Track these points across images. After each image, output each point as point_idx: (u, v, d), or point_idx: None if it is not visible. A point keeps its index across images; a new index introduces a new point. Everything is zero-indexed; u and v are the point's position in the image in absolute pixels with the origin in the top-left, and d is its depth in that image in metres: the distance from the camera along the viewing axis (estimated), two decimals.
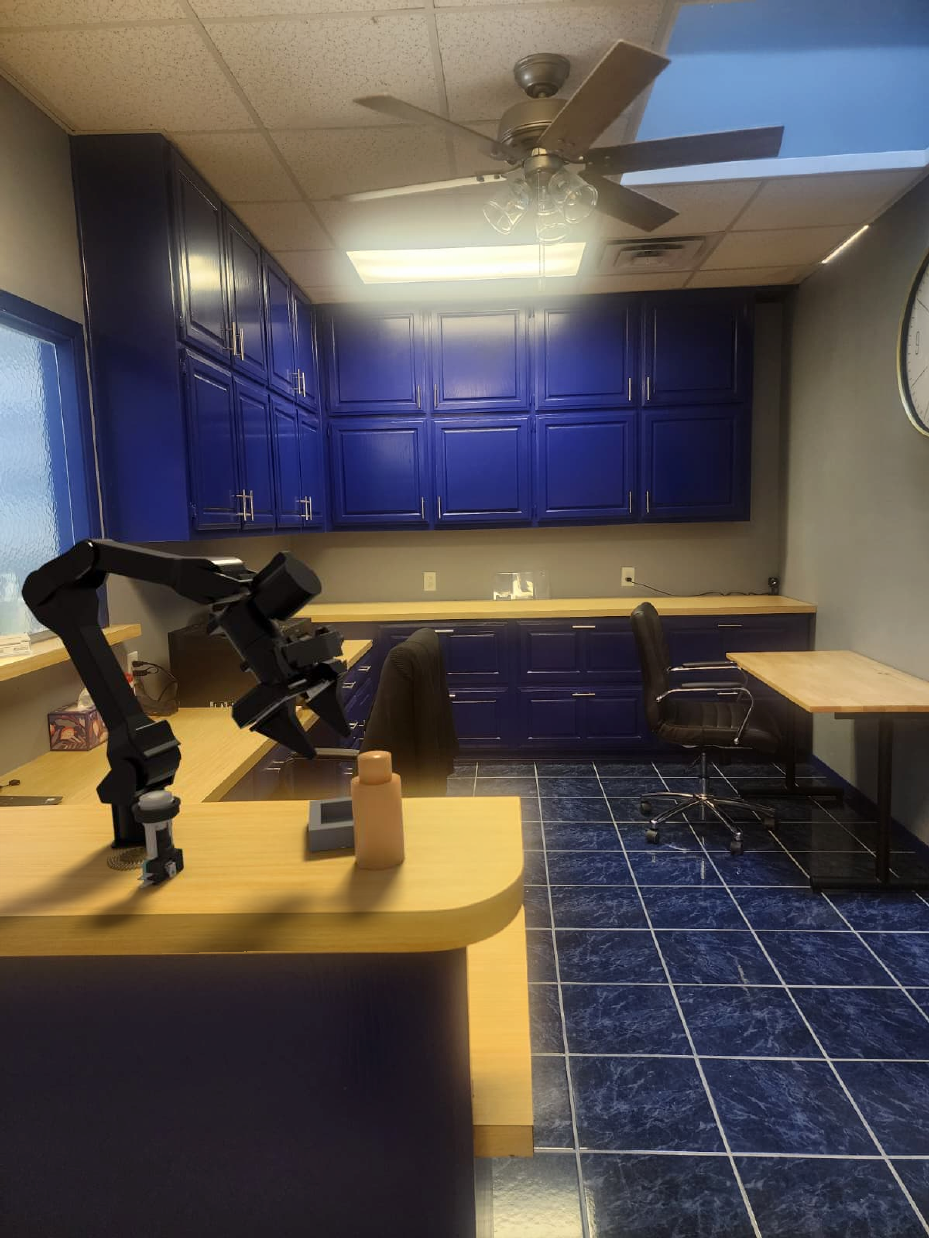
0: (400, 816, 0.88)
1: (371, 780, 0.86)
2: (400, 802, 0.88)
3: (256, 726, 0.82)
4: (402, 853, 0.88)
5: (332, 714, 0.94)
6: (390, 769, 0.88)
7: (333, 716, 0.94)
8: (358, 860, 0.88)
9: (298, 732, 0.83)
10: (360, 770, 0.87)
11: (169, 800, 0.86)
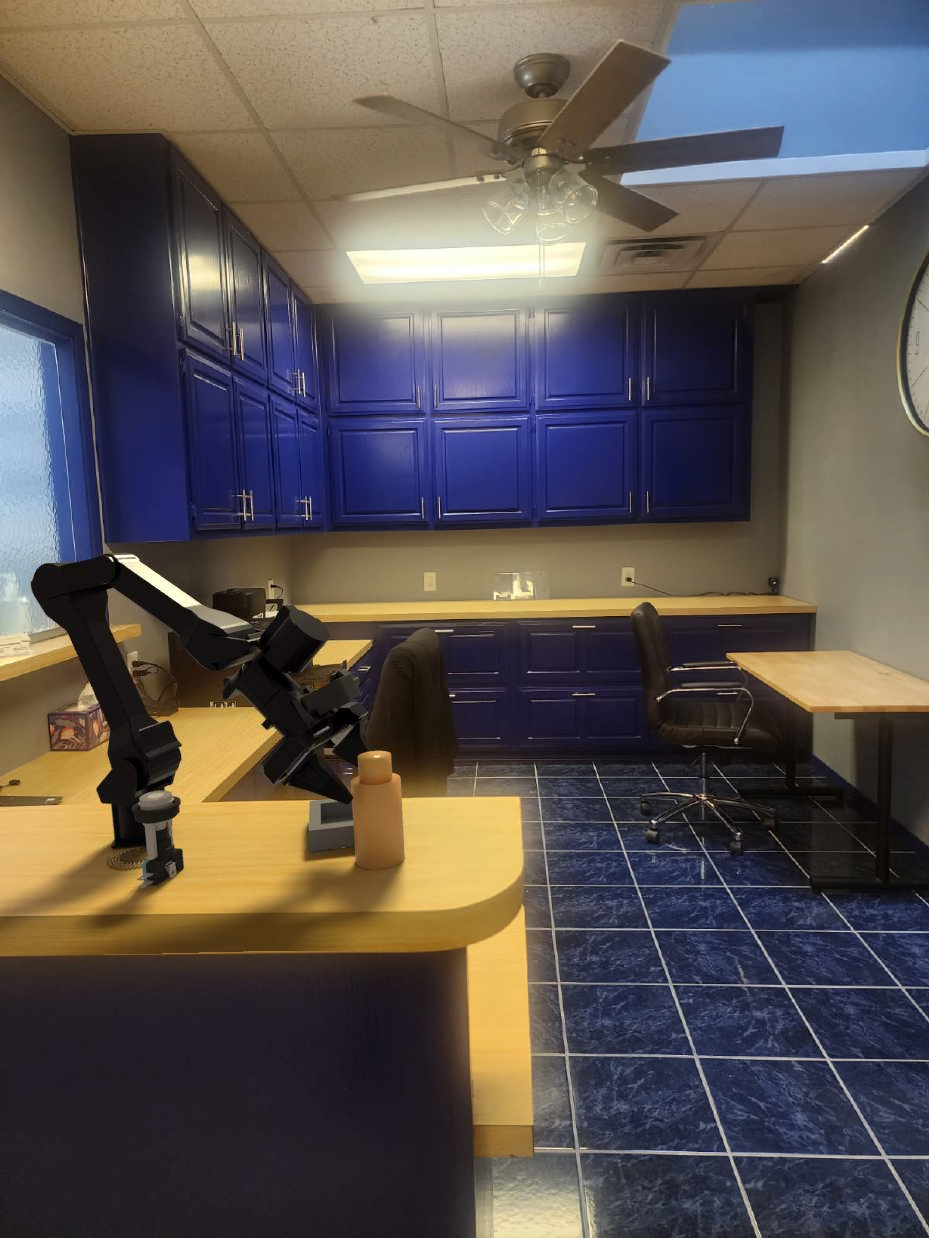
0: (400, 816, 0.88)
1: (371, 780, 0.86)
2: (400, 802, 0.88)
3: (288, 779, 0.82)
4: (402, 853, 0.88)
5: None
6: (390, 769, 0.88)
7: None
8: (358, 860, 0.88)
9: (331, 778, 0.83)
10: (360, 770, 0.87)
11: (169, 800, 0.86)
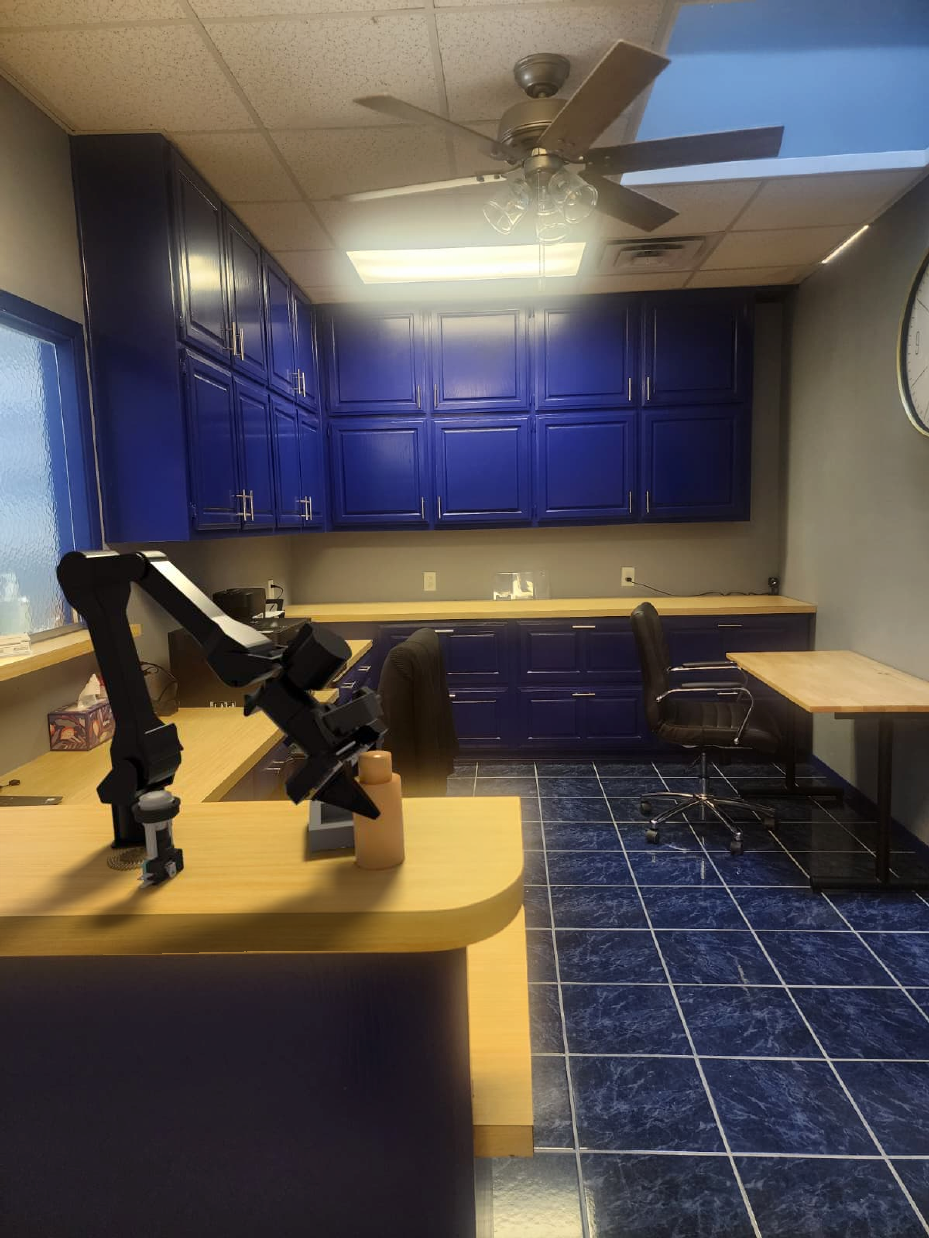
0: (400, 815, 0.88)
1: (371, 780, 0.86)
2: (400, 802, 0.88)
3: (317, 795, 0.83)
4: (402, 853, 0.88)
5: None
6: (390, 769, 0.88)
7: None
8: (358, 860, 0.88)
9: (359, 794, 0.84)
10: (360, 770, 0.87)
11: (169, 800, 0.86)
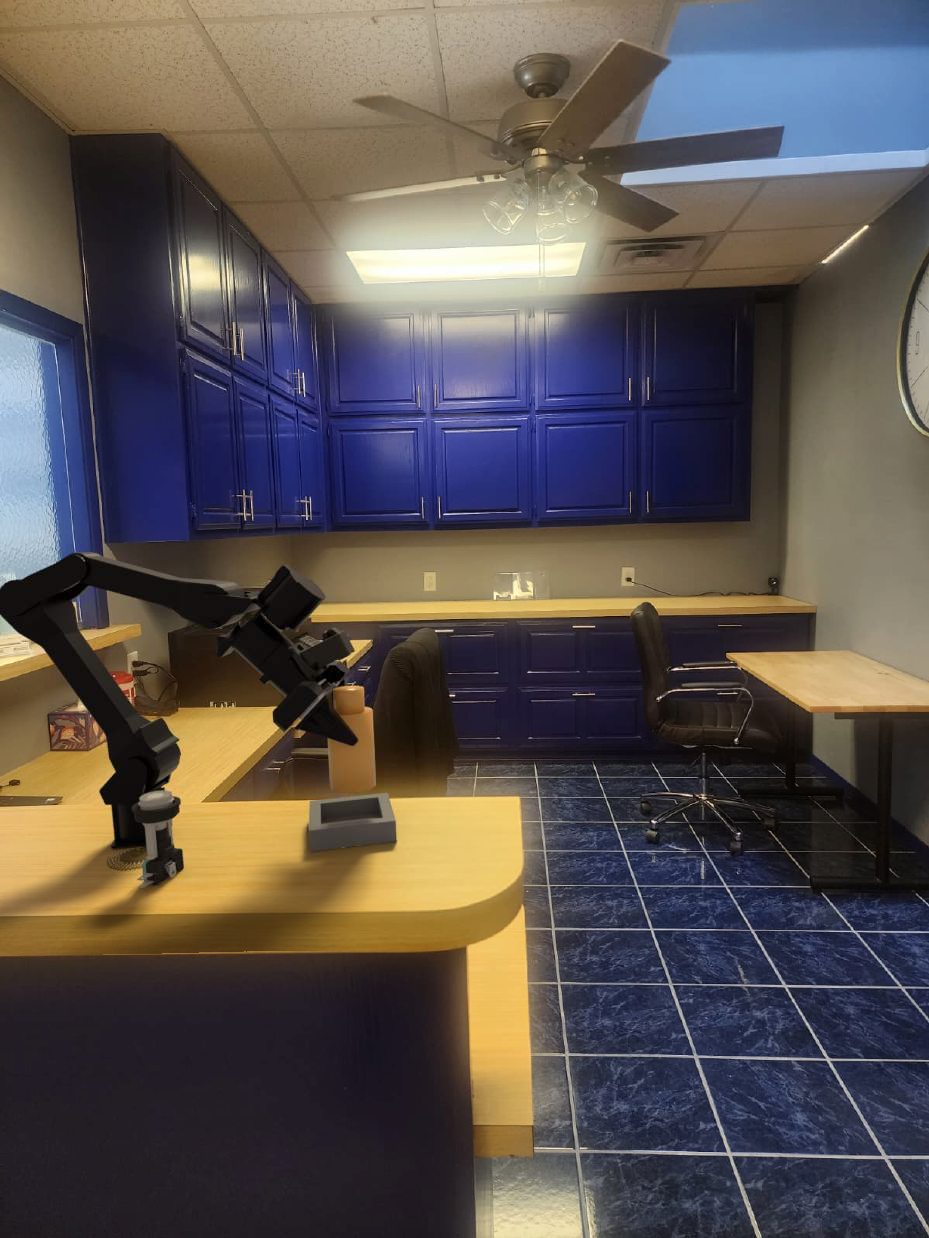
0: (373, 743, 0.96)
1: (348, 710, 0.93)
2: (373, 731, 0.96)
3: (302, 723, 0.89)
4: (375, 778, 0.96)
5: None
6: None
7: None
8: (335, 786, 0.94)
9: (339, 722, 0.91)
10: (337, 702, 0.94)
11: (169, 800, 0.86)
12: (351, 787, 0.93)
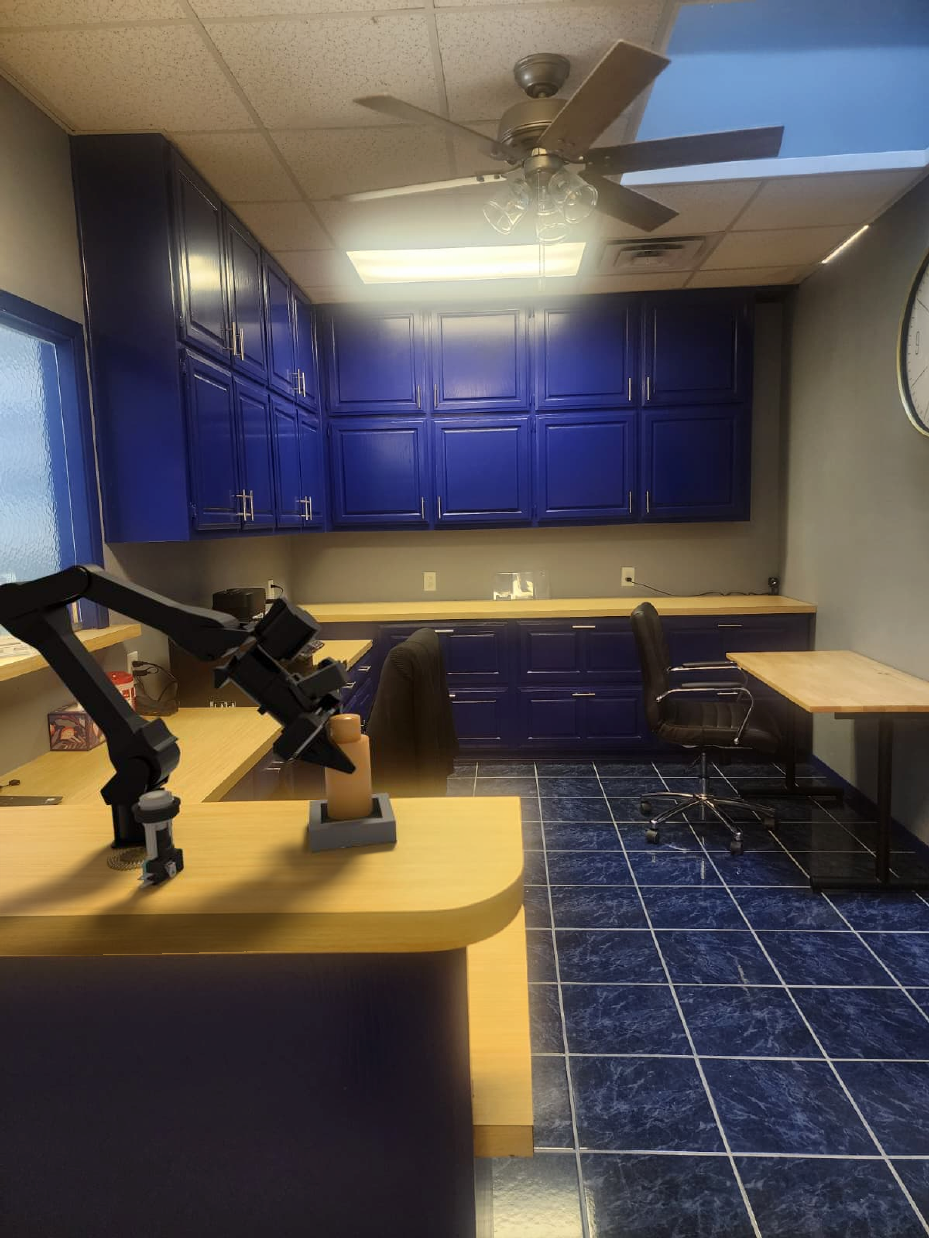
0: (370, 770, 0.98)
1: (345, 739, 0.95)
2: (369, 758, 0.98)
3: (301, 754, 0.91)
4: None
5: None
6: (360, 728, 0.97)
7: None
8: (333, 813, 0.96)
9: (337, 751, 0.93)
10: (334, 731, 0.96)
11: (169, 800, 0.86)
12: (349, 814, 0.95)
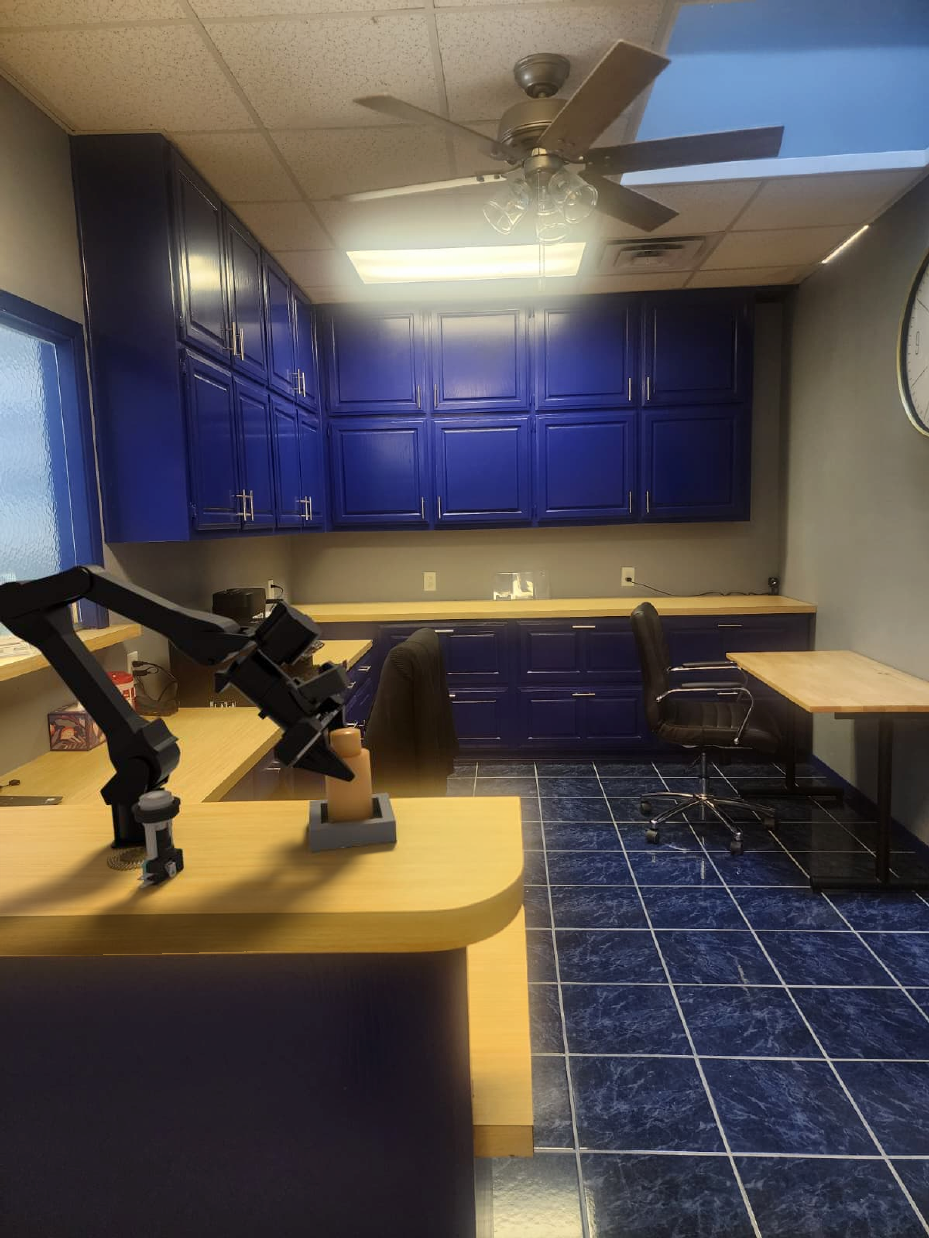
0: (370, 784, 0.98)
1: (346, 753, 0.95)
2: (370, 772, 0.98)
3: (299, 762, 0.89)
4: (373, 818, 0.98)
5: None
6: (360, 743, 0.97)
7: None
8: None
9: (336, 758, 0.92)
10: (334, 746, 0.96)
11: (169, 800, 0.86)
12: None
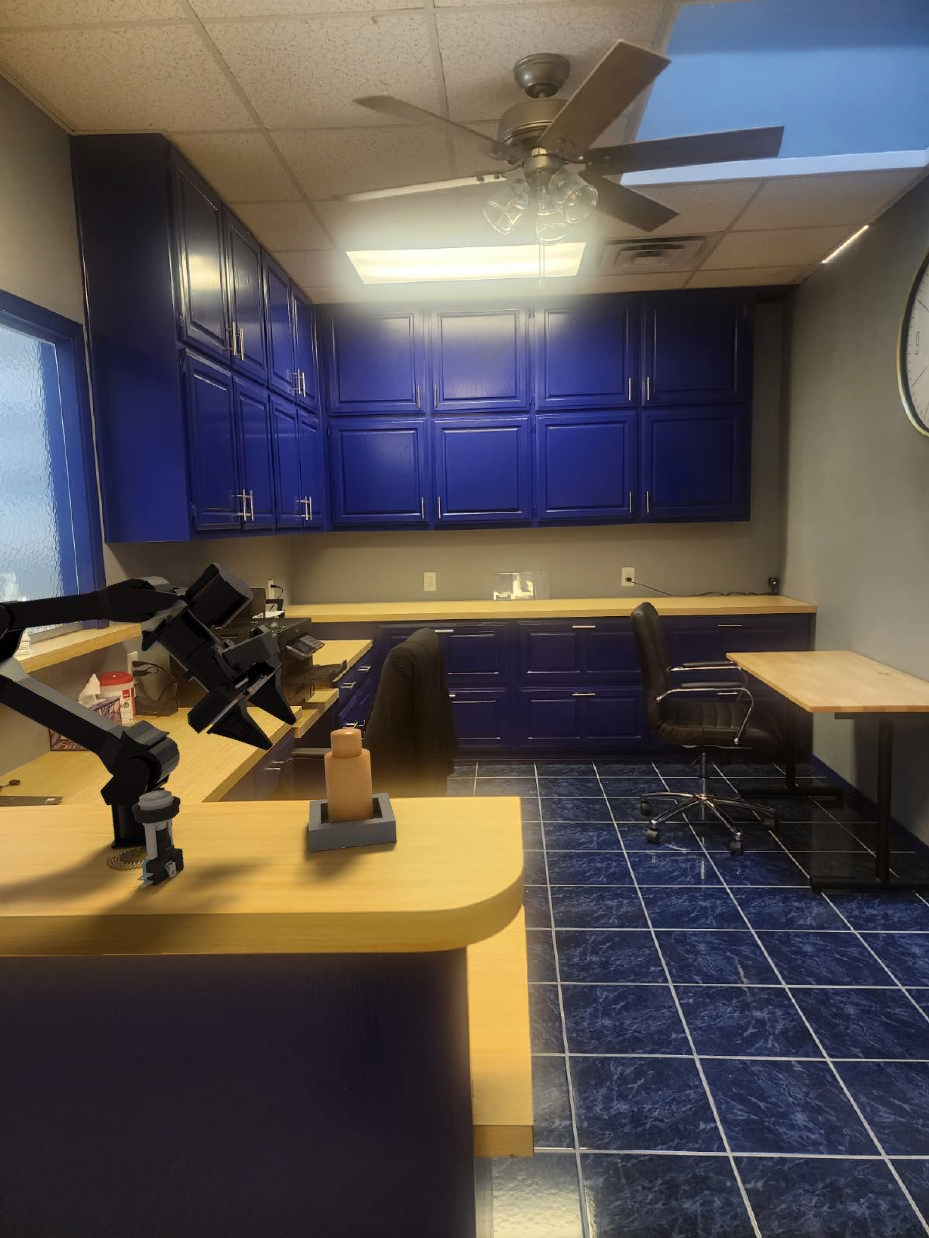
0: (371, 785, 0.98)
1: (346, 754, 0.95)
2: (370, 772, 0.98)
3: (213, 728, 0.90)
4: (373, 818, 0.98)
5: (275, 705, 1.02)
6: (361, 743, 0.97)
7: (276, 707, 1.02)
8: None
9: (252, 727, 0.91)
10: (335, 746, 0.96)
11: (169, 800, 0.86)
12: None
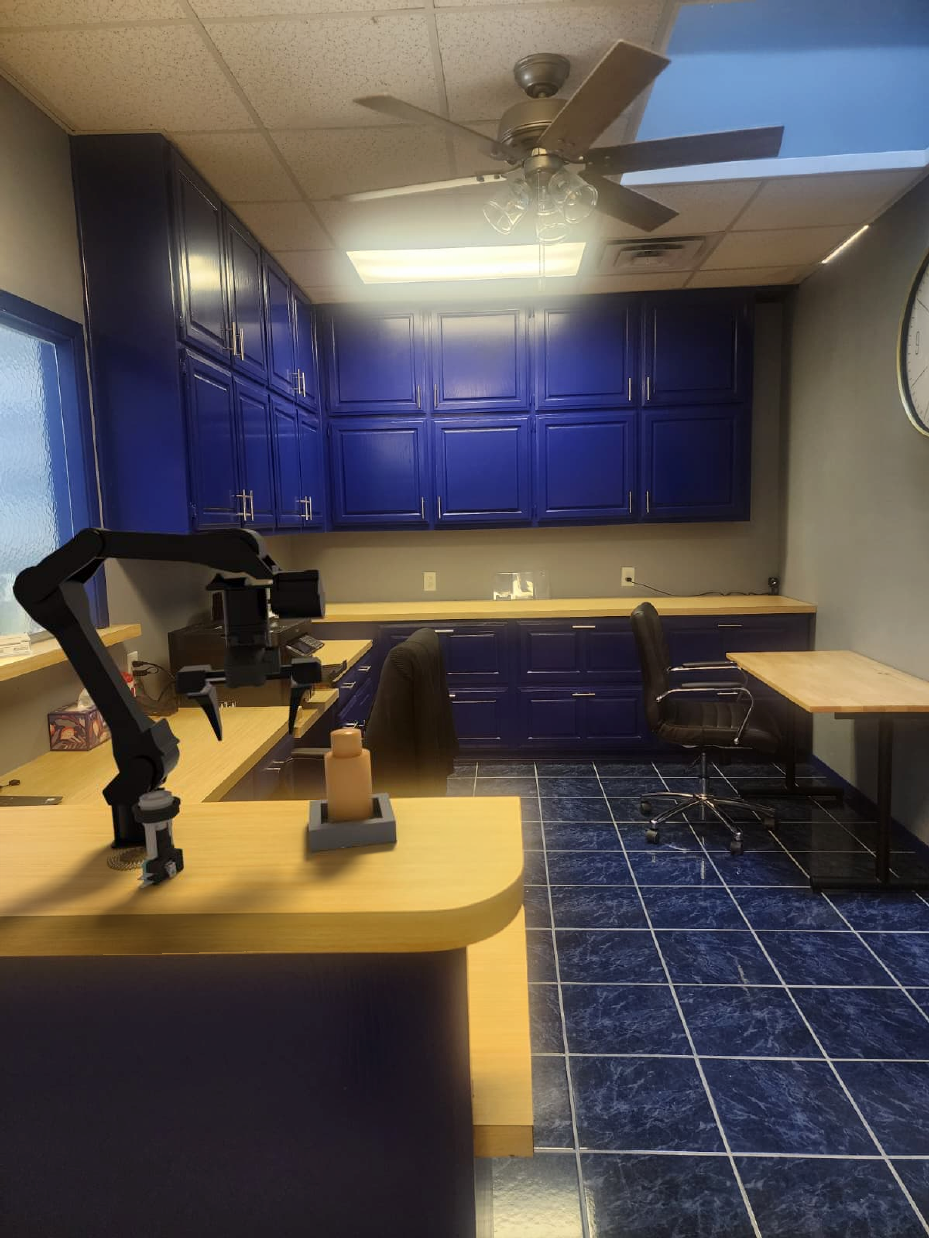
0: (371, 785, 0.98)
1: (346, 754, 0.95)
2: (370, 772, 0.98)
3: None
4: (373, 818, 0.98)
5: None
6: (361, 743, 0.97)
7: None
8: None
9: (208, 718, 0.96)
10: (335, 746, 0.96)
11: (169, 800, 0.86)
12: None
